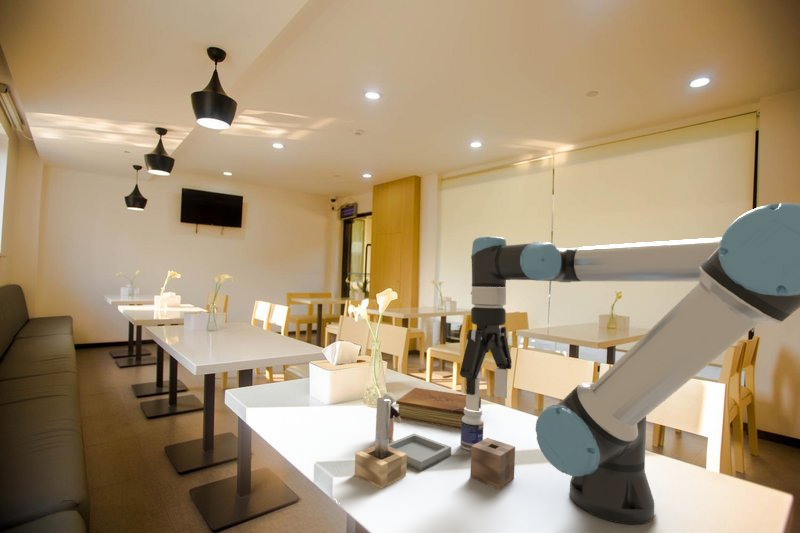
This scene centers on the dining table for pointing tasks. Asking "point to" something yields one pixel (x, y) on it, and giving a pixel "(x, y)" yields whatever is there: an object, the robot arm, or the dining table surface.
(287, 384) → the dining table surface
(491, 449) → the walnut block
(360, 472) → the oak block
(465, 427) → the pill bottle
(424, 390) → the diary
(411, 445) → the tray
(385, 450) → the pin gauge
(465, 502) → the dining table surface
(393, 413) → the grandmother figurine
